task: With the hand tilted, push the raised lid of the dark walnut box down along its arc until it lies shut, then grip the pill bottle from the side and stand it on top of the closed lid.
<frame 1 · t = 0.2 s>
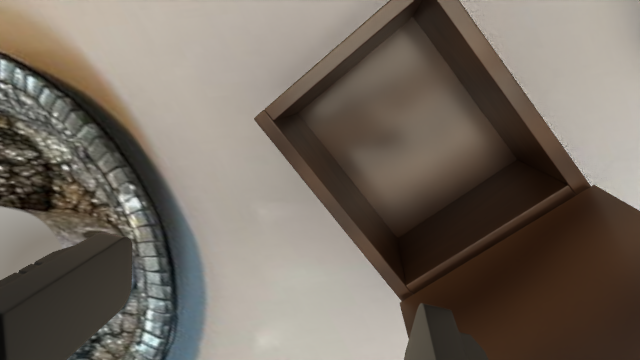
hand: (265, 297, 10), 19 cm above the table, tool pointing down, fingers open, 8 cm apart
chest: (403, 134, 27), on the table
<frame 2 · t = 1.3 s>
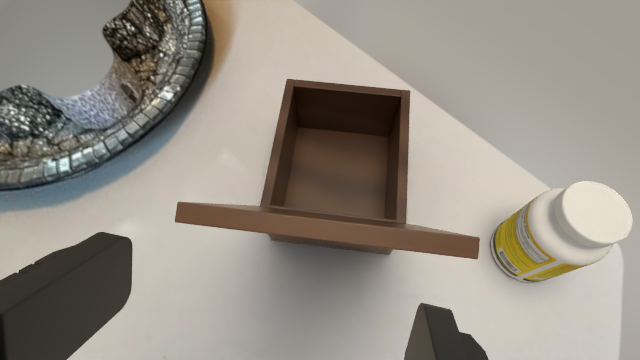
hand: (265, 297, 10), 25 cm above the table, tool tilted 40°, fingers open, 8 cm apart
chest: (337, 184, 39), on the table
pill bottle: (520, 251, 36), on the table
lid: (328, 223, 21), point 15 cm above the table, hinge at 110.5°
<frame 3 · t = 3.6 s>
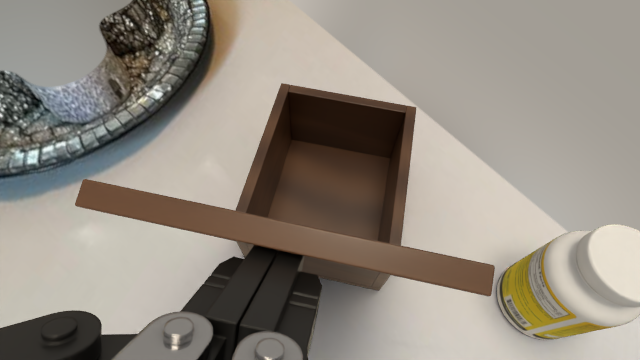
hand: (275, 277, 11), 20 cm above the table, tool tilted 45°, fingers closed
chest: (327, 205, 35), on the table
pill bottle: (530, 300, 31), on the table
lid: (301, 240, 17), point 15 cm above the table, hinge at 108.8°, touching gripper
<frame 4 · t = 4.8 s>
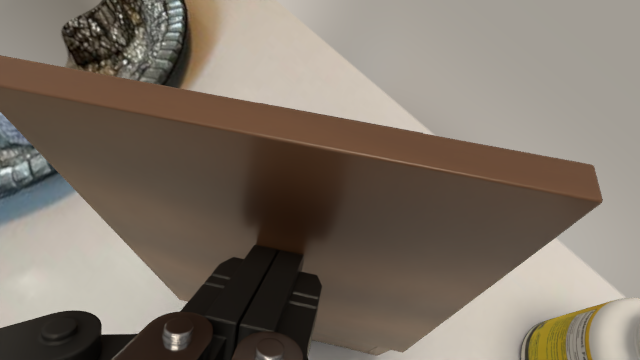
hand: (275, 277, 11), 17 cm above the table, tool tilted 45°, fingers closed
chest: (317, 245, 29), on the table
lid: (284, 265, 13), point 15 cm above the table, hinge at 85.0°, touching gripper
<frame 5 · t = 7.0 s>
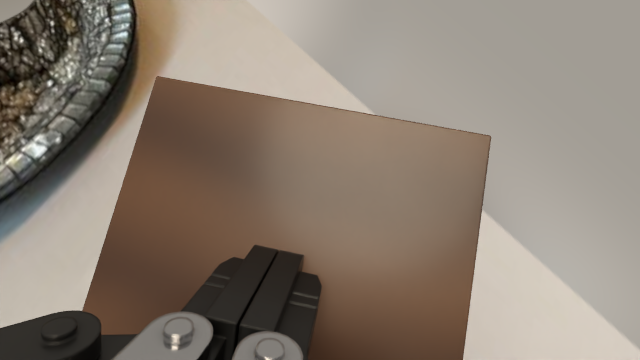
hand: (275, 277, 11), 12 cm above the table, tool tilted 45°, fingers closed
lid: (269, 323, 12), point 10 cm above the table, hinge at 17.8°, touching gripper
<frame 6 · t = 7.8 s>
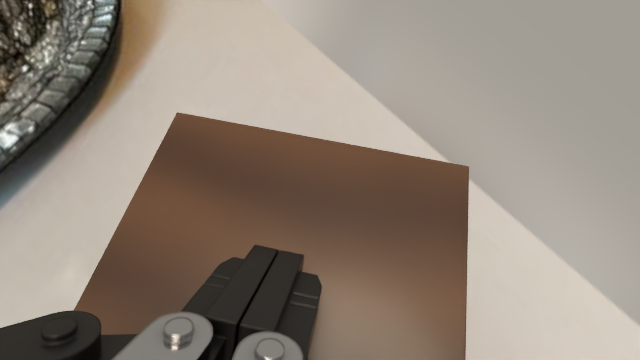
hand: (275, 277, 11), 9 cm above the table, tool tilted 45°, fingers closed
lid: (266, 336, 11), point 8 cm above the table, hinge at -0.2°, touching chest, gripper
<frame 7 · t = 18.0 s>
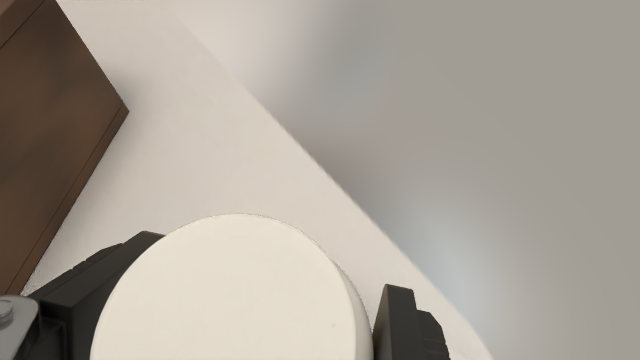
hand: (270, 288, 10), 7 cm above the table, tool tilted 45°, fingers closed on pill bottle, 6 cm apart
when the fingers open (16 cm above the table, at t = 26.0 s): pill bottle stays where it is, resting on lid.
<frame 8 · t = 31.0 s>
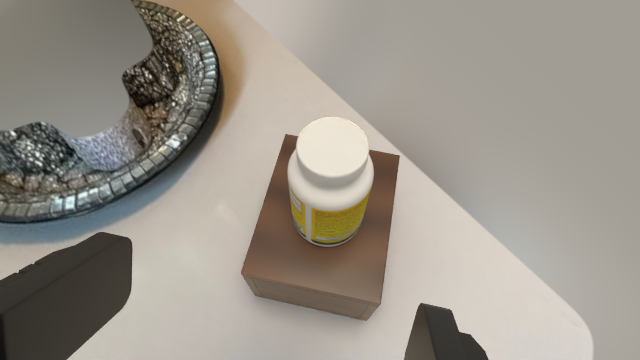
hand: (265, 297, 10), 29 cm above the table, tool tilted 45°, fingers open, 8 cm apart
chest: (323, 245, 41), on the table
pill bottle: (326, 216, 33), point 8 cm above the table, touching lid
lid: (327, 210, 34), point 8 cm above the table, hinge at -0.2°, touching chest, pill bottle
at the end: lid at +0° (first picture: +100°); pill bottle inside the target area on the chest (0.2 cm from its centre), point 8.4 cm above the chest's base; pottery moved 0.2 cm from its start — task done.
